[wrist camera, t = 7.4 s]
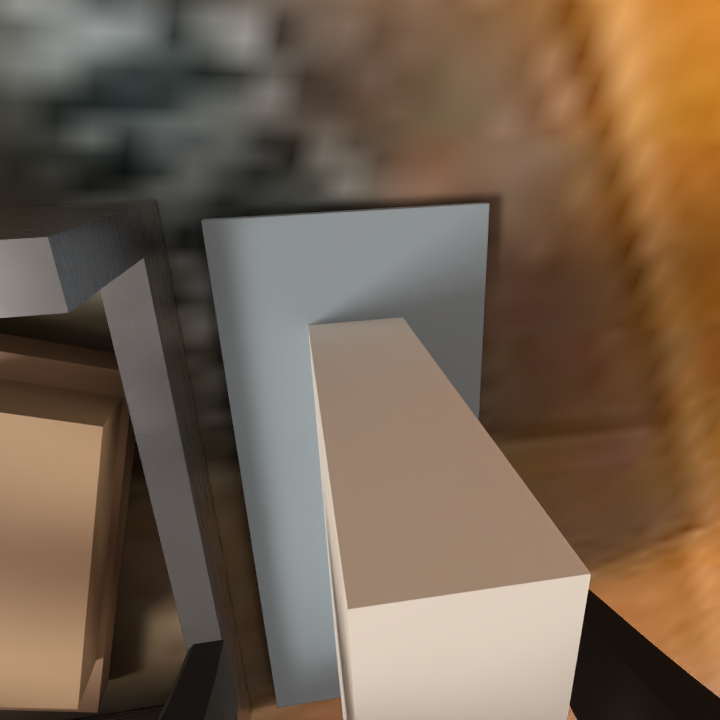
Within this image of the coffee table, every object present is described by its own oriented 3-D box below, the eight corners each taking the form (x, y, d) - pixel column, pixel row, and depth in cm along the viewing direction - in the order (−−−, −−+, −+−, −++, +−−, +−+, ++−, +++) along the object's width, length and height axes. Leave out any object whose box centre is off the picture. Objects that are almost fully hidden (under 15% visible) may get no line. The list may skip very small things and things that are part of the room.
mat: (462, 666, 19) (466, 676, 19) (277, 696, 19) (277, 707, 18) (483, 202, 13) (489, 203, 13) (203, 218, 12) (201, 220, 12)
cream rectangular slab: (406, 642, 18) (511, 1058, 10) (336, 654, 18) (381, 1089, 9) (402, 317, 13) (591, 573, 5) (308, 325, 13) (348, 608, 5)
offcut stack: (112, 669, 18) (80, 763, 15) (-31, 663, 17) (-93, 762, 14) (148, 351, 14) (115, 399, 11) (-35, 319, 13) (-121, 364, 10)
